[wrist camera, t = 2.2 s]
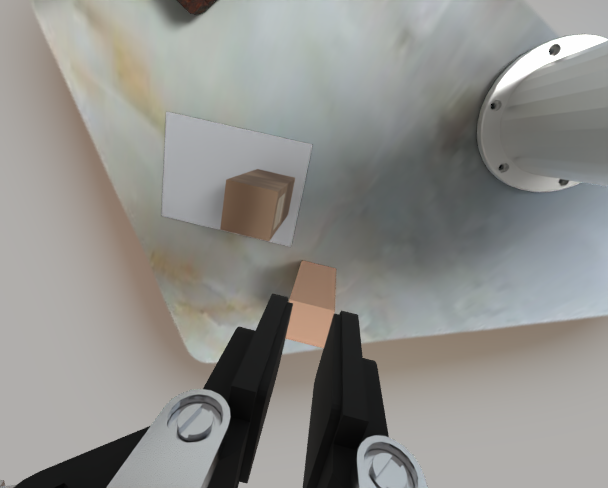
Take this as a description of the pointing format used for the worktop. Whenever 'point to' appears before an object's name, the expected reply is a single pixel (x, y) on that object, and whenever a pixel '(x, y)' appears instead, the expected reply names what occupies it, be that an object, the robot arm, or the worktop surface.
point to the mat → (224, 169)
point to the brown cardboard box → (256, 203)
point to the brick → (196, 5)
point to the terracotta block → (312, 304)
